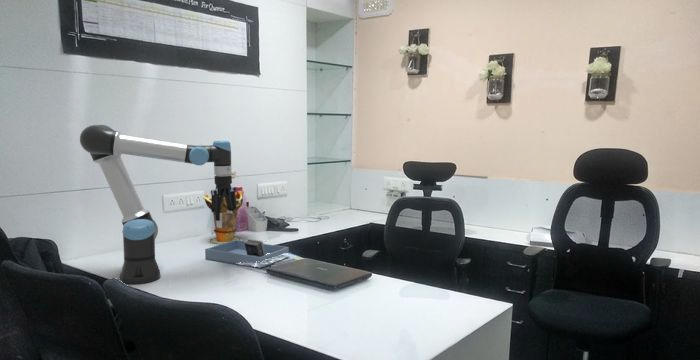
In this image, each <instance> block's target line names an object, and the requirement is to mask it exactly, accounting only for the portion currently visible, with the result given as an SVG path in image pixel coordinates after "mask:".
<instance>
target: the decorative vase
mask: <svg viewBox="0 0 700 360" xmlns="http://www.w3.org/2000/svg"><path fill="white" fill-rule="evenodd" d="M244 193H245V192H244V191H243V190H237V191H236V193H235V195H236V209H235V211H233V213H234V220H235V227H231V228H227V229H221V228H214V230H213V232H214V233H215V236H216V237H214V238H211V237H210V239H209V240H208V242H209V243H211V244H216V245H220V244H224V243H227V242H230V241H234V240H241V241H243V239H242V238H240V237H235V234H236V231H237V228H236V227H237V215H238V211H239V210H240V208H241V207H242V205H243V201H244ZM202 199H203V200H204V202H205V203H206V207H207V208H208V209H209V210H211V205H212V196H210V194H209V193H206V194H203V196H202ZM233 206H234V205H233ZM227 211H229V210H228V208H227V204H226V200H225V197H224V198H223V201H222V206H221V212H220V213H227ZM212 214H213V219H214V220H213V221H214V223H215V213H213V212H212ZM213 232H212V233H211V235H213Z"/></svg>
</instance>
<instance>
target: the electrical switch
mask: <svg viewBox="0 0 700 360" xmlns="http://www.w3.org/2000/svg"><path fill="white" fill-rule="evenodd" d="M263 244H264V241H263V240H260V239H255V238H254V239H253V238H247V242H246V243H245V248H246V252H247V255H250V256H257V257H262V256H264V255H266V254H265V249H264V245H263Z"/></svg>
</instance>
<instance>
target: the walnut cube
mask: <svg viewBox="0 0 700 360" xmlns="http://www.w3.org/2000/svg"><path fill="white" fill-rule="evenodd" d="M214 227H215V228H214V229H216V228H217V224H216V218H215V222H214ZM231 227H235V220H234V213H222V228H221V229H227V228H231Z"/></svg>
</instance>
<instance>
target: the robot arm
mask: <svg viewBox="0 0 700 360" xmlns="http://www.w3.org/2000/svg"><path fill="white" fill-rule="evenodd" d="M79 144H80V146H81V148H83V150H85V152H87V153H89V154H90V156H91V158H92V161H93V162H94V163H96V164H98V165H99V167H100V168H101V170H102V173H103V175H104V177H105V179H106V182H107V184H108V186H109V188H110V190H111V192H112V195H113V197H114V199H115V201H116V203H117V205H118V208H119V211H120V213H121V215H122V217H123V218H122V219H121V223H122V226H123V227H122V236H123V238H122V239H123V240H122V241H123V263H122V267H121V271H120V274H119V281H120V280H121V281H122V282H124V283H123V284H126V285H140V284H146V283H147V284H149V283H152V282H154V281H158V280H159V279H160V278H161V271H160V267H159V265H158V263H157V259H156V249H155V248H156V242H155V241H156V238H157V236H158V233H159V226H158V223H157V222H156V221H155V220H154V219H153V217H152V214H151V213H150V210H148V209H145V208H144V206H143V204H142V202H141V200H140V196H139V195H138V193H137V189H136V188H135V186H134V184H133V181H132V179H131V176H130V175H129V172H128V170H127V168H126V166H125V164H124V162H123V158H122V154H123V155H130V156H135V157H143V158H151V159H156V160H162V161H163V160H164V161H170V162H178V163H186V164H193V165H195V166H203V165H205V164H206V163H213V170H214V171H213V172H214V173H213V175H214V179H213V180H214V184H215V189H211V190H210V194H211V197H212V205H211V209H210V211H211V213H212V214H213V213H215V218H216V224H217V228H222V213H220V212H221V206H222V201H223V198H224V197H225V200H226V204H227V208H228V210H229V211H227V213H233V211H235V209H236V195H235V194H236V192H237V191H236V190H237V188H236V187H234V186H232V185H231V184H233V178H232V147H231V142H230V141H229V140H213V143H212V144H211V145H193V144H185V143H178V142H172V141H167V140H160V139H154V138H153V139H152V138H147V137H141V136H133V135H128V134H121V133H120V131H118V130H115V129H113V128H112V127H110V126H108V125H105V124H92V125H89V126H86V127H85V128H84V129H82V131H81V133H80V136H79ZM233 205H234V206H233ZM122 282H121V283H122Z"/></svg>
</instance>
